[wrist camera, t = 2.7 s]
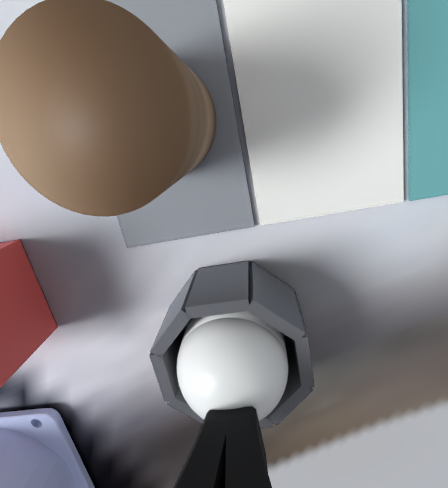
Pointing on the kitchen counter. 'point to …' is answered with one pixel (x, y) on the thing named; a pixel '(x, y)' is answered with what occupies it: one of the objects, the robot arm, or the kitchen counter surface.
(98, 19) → the walnut pawn
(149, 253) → the kitchen counter surface
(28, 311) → the red die
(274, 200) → the game track
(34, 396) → the kitchen counter surface
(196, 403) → the dome cap
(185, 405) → the dome housing
